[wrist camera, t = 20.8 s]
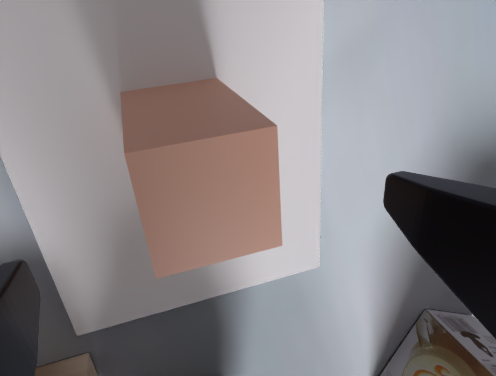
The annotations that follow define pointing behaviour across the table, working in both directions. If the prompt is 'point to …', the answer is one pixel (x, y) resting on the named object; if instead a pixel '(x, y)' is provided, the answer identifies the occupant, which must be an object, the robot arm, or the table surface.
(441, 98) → the table surface
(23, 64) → the grey mat
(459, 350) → the coffee box
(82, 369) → the rail
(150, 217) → the block
